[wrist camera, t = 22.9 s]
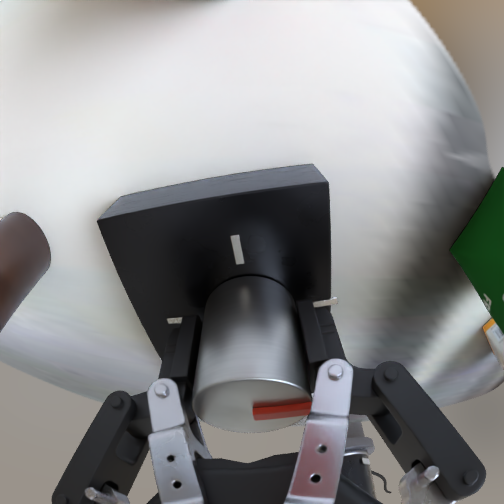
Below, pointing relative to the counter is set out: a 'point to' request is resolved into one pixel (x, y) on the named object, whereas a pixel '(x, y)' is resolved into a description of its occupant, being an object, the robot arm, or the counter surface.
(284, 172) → the panel
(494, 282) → the milk carton
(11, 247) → the dark brown cylinder
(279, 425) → the hob knob
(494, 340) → the supplement box
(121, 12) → the counter surface
